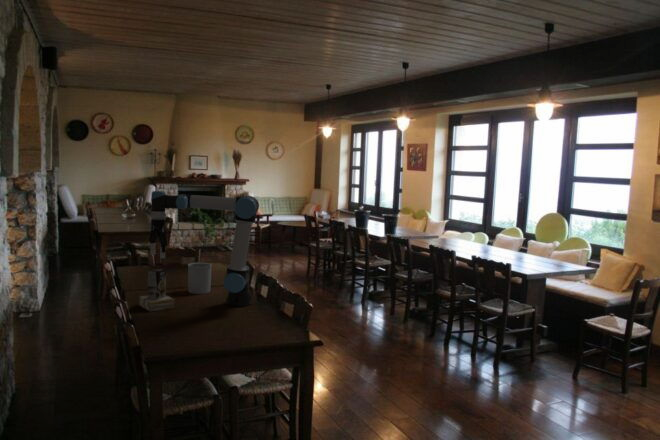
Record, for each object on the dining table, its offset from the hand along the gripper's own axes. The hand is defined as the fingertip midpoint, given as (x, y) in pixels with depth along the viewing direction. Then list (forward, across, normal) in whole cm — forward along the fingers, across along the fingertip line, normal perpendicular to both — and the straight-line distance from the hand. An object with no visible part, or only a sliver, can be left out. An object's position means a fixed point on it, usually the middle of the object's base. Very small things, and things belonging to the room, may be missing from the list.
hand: (157, 256), depth 304 cm
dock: (+29, 0, 0) cm, 29 cm away
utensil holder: (+29, -22, +37) cm, 52 cm away
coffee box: (+24, 0, 0) cm, 24 cm away
